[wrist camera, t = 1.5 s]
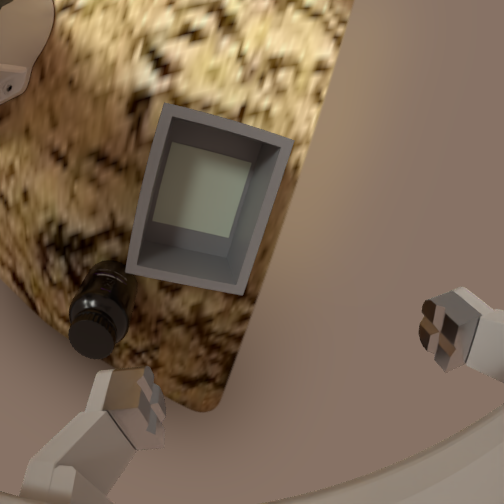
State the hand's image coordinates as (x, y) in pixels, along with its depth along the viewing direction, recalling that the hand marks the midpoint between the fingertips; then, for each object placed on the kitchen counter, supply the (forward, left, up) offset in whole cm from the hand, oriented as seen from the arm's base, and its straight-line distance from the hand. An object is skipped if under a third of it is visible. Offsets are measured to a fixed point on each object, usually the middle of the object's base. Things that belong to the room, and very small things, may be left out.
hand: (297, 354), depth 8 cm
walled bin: (-1, -1, -30) cm, 30 cm away
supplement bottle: (-16, -7, -30) cm, 35 cm away
